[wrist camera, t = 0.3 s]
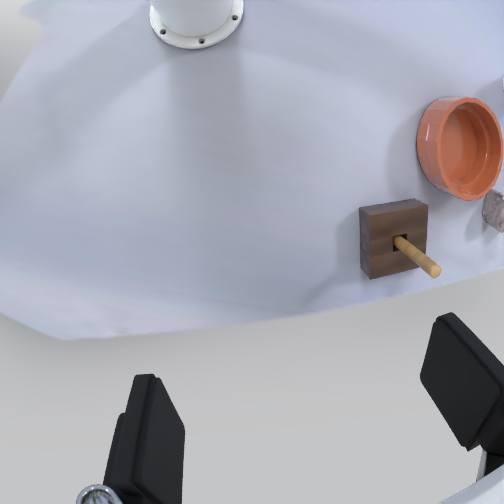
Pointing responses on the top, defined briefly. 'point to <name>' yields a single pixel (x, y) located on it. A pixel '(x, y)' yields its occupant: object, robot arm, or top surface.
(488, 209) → the dental mold
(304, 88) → the top surface
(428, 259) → the light wooden dowel
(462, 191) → the mixing bowl
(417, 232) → the holder
